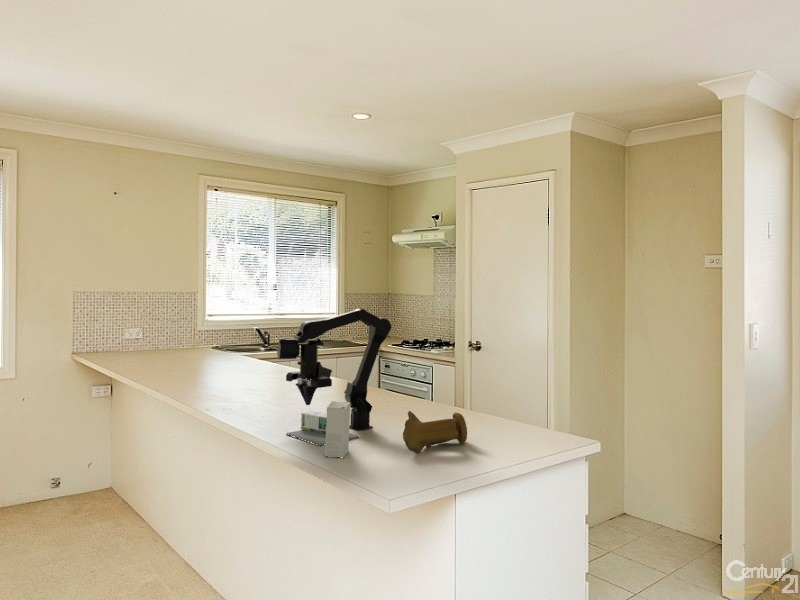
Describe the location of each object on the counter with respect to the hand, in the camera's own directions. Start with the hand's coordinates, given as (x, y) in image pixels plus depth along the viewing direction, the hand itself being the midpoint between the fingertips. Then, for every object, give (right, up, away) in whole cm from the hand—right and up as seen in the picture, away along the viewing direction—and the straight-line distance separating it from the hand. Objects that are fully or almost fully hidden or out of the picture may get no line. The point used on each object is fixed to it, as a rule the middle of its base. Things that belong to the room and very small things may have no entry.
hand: (308, 404), depth 198 cm
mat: (+6, -9, -6) cm, 12 cm away
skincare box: (+13, -10, -26) cm, 30 cm away
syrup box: (-1, -5, +3) cm, 6 cm away
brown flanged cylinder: (+41, -11, -16) cm, 45 cm away
